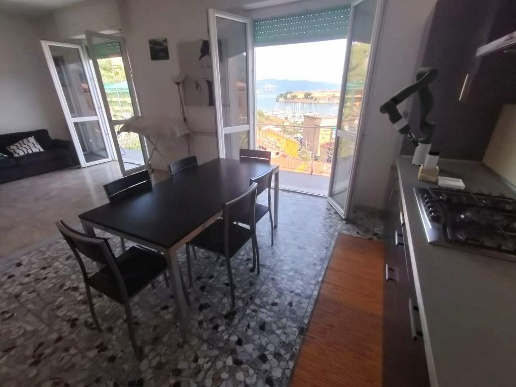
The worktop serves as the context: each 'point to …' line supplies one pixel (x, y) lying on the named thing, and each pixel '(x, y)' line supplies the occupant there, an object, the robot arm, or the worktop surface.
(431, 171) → the holder
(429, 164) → the travel mug
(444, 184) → the tray
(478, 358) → the worktop surface
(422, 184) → the worktop surface
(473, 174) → the worktop surface
